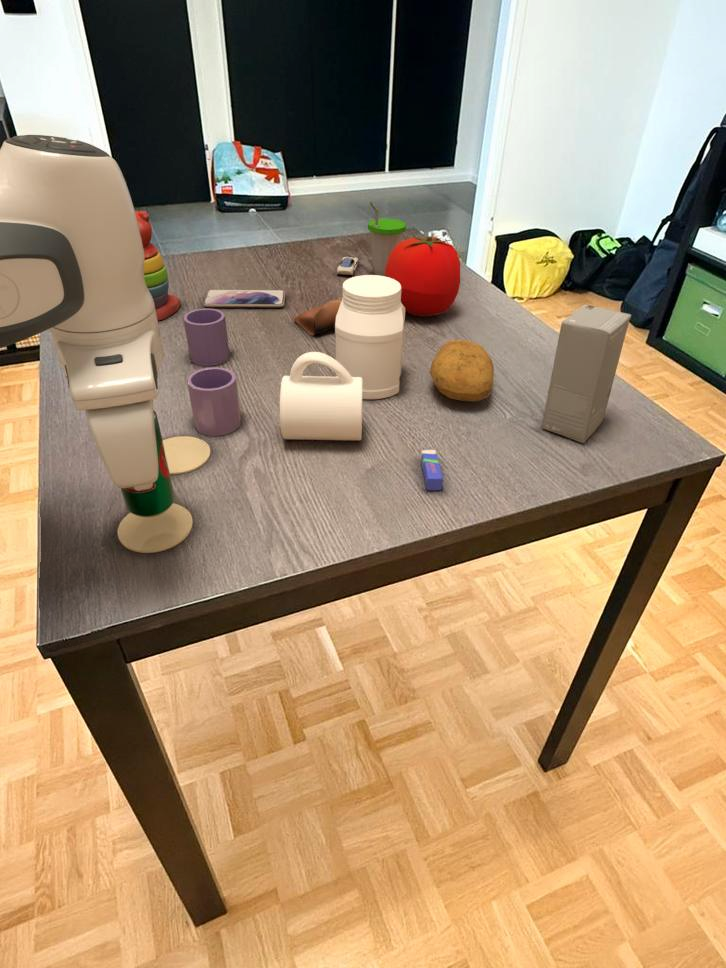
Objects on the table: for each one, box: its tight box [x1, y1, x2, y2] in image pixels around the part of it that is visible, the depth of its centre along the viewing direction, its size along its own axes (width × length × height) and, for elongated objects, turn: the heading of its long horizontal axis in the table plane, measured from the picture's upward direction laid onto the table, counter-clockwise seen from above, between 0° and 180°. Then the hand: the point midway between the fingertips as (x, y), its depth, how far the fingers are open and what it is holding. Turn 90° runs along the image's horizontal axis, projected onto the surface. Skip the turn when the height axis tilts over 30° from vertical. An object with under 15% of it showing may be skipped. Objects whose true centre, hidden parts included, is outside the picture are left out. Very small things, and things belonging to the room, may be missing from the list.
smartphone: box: [203, 289, 286, 309], centre depth 119 cm, size 7×1×15 cm
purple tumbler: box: [186, 366, 242, 437], centre depth 83 cm, size 6×6×7 cm
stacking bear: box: [134, 210, 181, 322], centre depth 108 cm, size 11×10×18 cm
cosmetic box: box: [541, 304, 632, 444], centre depth 83 cm, size 8×7×16 cm
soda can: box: [120, 409, 176, 517], centre depth 63 cm, size 5×5×12 cm
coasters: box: [117, 435, 212, 554], centre depth 74 cm, size 12×21×1 cm, turn 20°
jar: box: [334, 274, 406, 400], centre depth 91 cm, size 12×10×15 cm
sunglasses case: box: [294, 297, 342, 337], centre depth 113 cm, size 18×7×7 cm, turn 126°
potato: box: [429, 339, 495, 402], centre depth 92 cm, size 9×13×7 cm
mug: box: [279, 351, 363, 441], centre depth 80 cm, size 8×10×12 cm
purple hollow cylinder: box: [183, 307, 230, 367], centre depth 99 cm, size 6×6×7 cm
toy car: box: [336, 256, 360, 277], centre depth 134 cm, size 4×12×3 cm, turn 171°
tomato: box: [385, 235, 461, 318], centre depth 114 cm, size 16×14×14 cm
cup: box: [367, 201, 407, 276], centre depth 127 cm, size 8×8×15 cm
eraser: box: [420, 449, 444, 491], centre depth 77 cm, size 2×6×2 cm, turn 2°
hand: (141, 467), depth 64 cm, fingers closed on soda can, 5 cm apart
